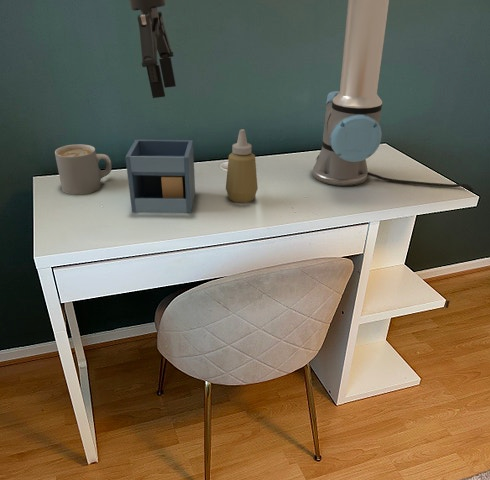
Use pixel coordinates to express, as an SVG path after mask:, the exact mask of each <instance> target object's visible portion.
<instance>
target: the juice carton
mask: <svg viewBox="0 0 490 480" xmlns="http://www.w3.org/2000/svg"><path fill="white" fill-rule="evenodd" d="M161 182H162V194H163V198H186V190H185V176H161Z"/></svg>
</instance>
